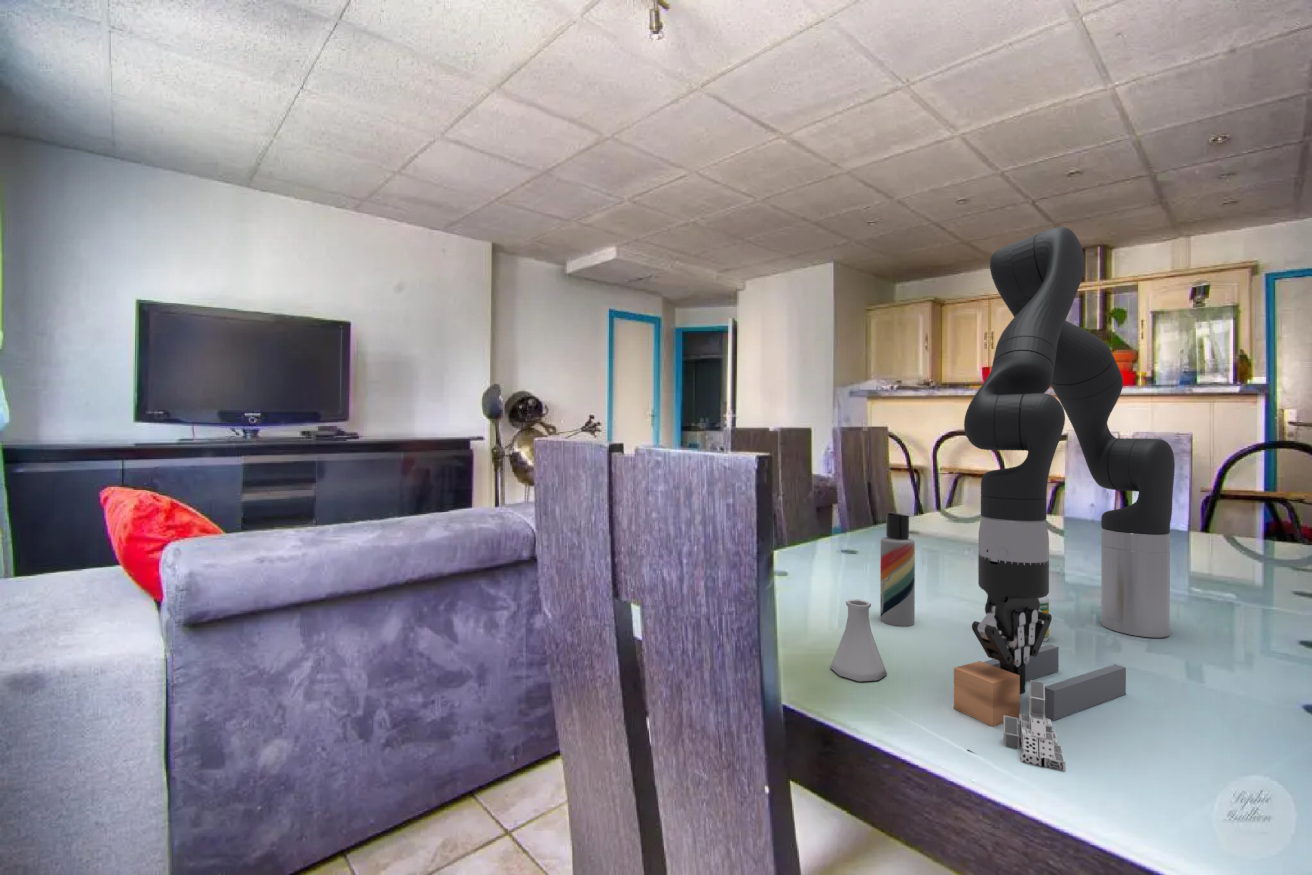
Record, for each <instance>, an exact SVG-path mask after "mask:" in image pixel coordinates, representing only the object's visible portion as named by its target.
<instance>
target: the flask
mask: <svg viewBox="0 0 1312 875" xmlns="http://www.w3.org/2000/svg"><path fill="white" fill-rule="evenodd" d="M845 605H846V606H847V619H846V624H845V628H844V631H843V634H842V637H841V639H840V642H839V643H838V647H837V649H836V651H835V654H834V656H833V659H832V662H831V664H830V666H829V668H830V669H831V670H833V671H834V672H835V673H836V674H837V675H839V677H844V678H846V679H849V680H853V681H856V682H869V681H870V682H871V681H880V680H881V679H882V678H883V677H885V676H887V675H888V672H887V670H886V667H885V664H884V662H883V659H882V656H881V654H880V652H879V649H878V647H877V646H878V645H877V643H876V640H875V637H874V634H873V632H872V627H871V623H870V612H869V610H870V608H871V607H872V603H871V602H869V601H867V600H862V599H848V600H846V601H845Z"/></svg>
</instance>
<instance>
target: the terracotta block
mask: <svg viewBox="0 0 1312 875" xmlns="http://www.w3.org/2000/svg"><path fill="white" fill-rule="evenodd" d="M984 662H985V661H981V660H978V661H975V662H972V663H971V662H970V663H967V664H963V665H960V666H956V667H953V709H954V710H956V711H959V712H960V713H963V714H964V715H966V716H967V715H968V716H969V717H972V718H973V719H976V720H978V721H980V722H982V723H984V724H987V725H988V726H991V727H996V726H998V725H1001V724H1004V715H1005V716H1010V717H1015V718H1017V719H1020V717H1019V714H1021V713H1020V712H1021V710H1020V708H1021V706H1020V702H1021V701H1020V698H1021V697H1020V696H1021V694H1020V675H1017V674H1014V673H1012V672H1009V671H1006V670H1003V669H1001V668H998V667H995V666H992V665H990V664H987V663H984Z"/></svg>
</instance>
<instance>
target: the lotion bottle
mask: <svg viewBox="0 0 1312 875" xmlns="http://www.w3.org/2000/svg"><path fill="white" fill-rule="evenodd" d="M885 517H886V518H885V520H886V521H885V522H886V524H885V525H886V526H885V527H886V534H885V535H886V537H885V536H884V537H881V538H880V579H879V580H880V584H879V585H880V588H879V589H880V592H879V593H880V594H879V595H880V597H879V598H880V600H879V601H880V602H879V603H880V606H879V607H880V609H879V610H880V613H879V614H880V622H882V623H884V624H886V625H889V626H892V627H898V628H899V627H901V628H908V627H909V628H910V627H912V626H914V625H915V617H916V616H915V609H916V608H915V607H916V606H915V604H916V602H915V601H916V600H915V598H916V597H915V596H916V594H915V593H916V592H915V591H916V590H915V588H916V585H915V583H916V582H915V581H916V578H915V577H916V576H915V575H916V574H915V573H916V562H915V561H916V552H915V550H916V549H915V548H916V547H915V546H916V543H915V540H914V539H913V538H910V515H906V514H902V513H898V512H891V511H888V512H887V514H886V516H885Z"/></svg>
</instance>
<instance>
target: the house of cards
mask: <svg viewBox="0 0 1312 875" xmlns="http://www.w3.org/2000/svg"><path fill="white" fill-rule="evenodd" d="M1057 739H1058V735H1057V730H1053V724H1052V720H1051V719H1049V718H1047V717H1045V682H1044V681H1038V680H1034V679H1032V680H1029V690H1028V715H1027V714H1024V713H1023V714H1022V713H1020V714H1019V723H1018V718H1015V717H1010V716H1005V715H1004V723H1003V741H1004V746H1005V747H1008V748H1013V749H1017V750H1019V748H1020V747H1021V751H1020V762H1023V763H1027V764H1031V765H1035V766H1040V767H1042V761H1043V766H1044V768H1045V767H1046V768H1050V769H1055V770H1059V771H1064V772H1066V761H1065V760H1064V756H1063V754H1064V752H1063V749H1062V745H1060V744H1059V743H1058V742H1059V741H1058V740H1057ZM966 751H967V752H970V753H973V754H975V755H977V753H976V752H974V751H972V750H970V749H966Z"/></svg>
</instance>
